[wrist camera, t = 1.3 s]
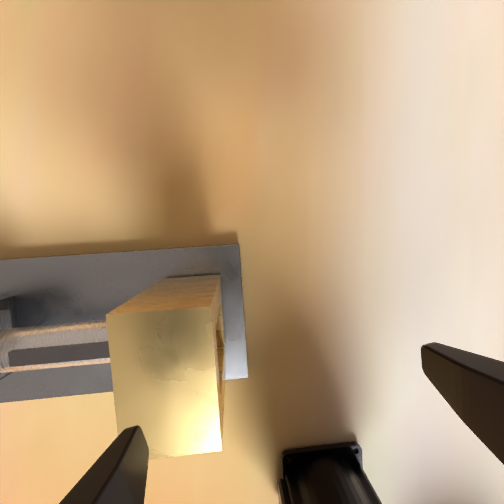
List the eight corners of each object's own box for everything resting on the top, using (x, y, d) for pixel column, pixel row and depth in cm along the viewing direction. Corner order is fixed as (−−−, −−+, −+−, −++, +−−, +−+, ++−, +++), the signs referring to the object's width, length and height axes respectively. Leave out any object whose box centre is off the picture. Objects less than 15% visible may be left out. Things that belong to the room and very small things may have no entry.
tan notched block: (220, 274, 19) (210, 306, 11) (226, 356, 19) (221, 450, 11) (162, 278, 19) (105, 315, 10) (169, 362, 19) (120, 462, 11)
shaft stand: (238, 243, 21) (242, 248, 14) (247, 370, 21) (254, 430, 15) (-14, 260, 19) (-138, 273, 13) (4, 395, 20) (-105, 472, 13)
